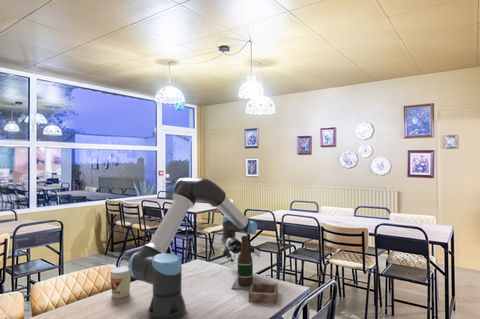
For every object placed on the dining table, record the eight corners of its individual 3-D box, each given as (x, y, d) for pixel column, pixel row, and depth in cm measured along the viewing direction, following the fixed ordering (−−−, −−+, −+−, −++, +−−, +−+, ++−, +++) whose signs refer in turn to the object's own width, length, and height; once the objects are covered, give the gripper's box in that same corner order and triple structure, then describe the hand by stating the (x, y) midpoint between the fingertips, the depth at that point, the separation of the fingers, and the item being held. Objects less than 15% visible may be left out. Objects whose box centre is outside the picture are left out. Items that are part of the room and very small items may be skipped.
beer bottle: (251, 287, 156) (251, 238, 156) (236, 286, 157) (235, 238, 157) (253, 281, 163) (253, 234, 163) (239, 280, 165) (238, 234, 165)
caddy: (248, 302, 141) (248, 293, 141) (252, 290, 153) (252, 282, 153) (276, 304, 139) (276, 294, 139) (277, 292, 151) (277, 284, 151)
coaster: (231, 289, 155) (231, 287, 155) (235, 279, 167) (235, 278, 167) (255, 290, 153) (255, 289, 153) (258, 281, 165) (258, 279, 165)
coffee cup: (105, 296, 148) (105, 271, 148) (121, 289, 156) (121, 265, 156) (119, 300, 144) (119, 274, 144) (135, 292, 152) (135, 267, 152)
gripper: (254, 249, 182) (269, 260, 162) (212, 254, 174) (223, 266, 154) (254, 236, 182) (269, 246, 162) (212, 240, 174) (222, 251, 154)
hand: (247, 256), depth 158 cm, fingers open, 13 cm apart
